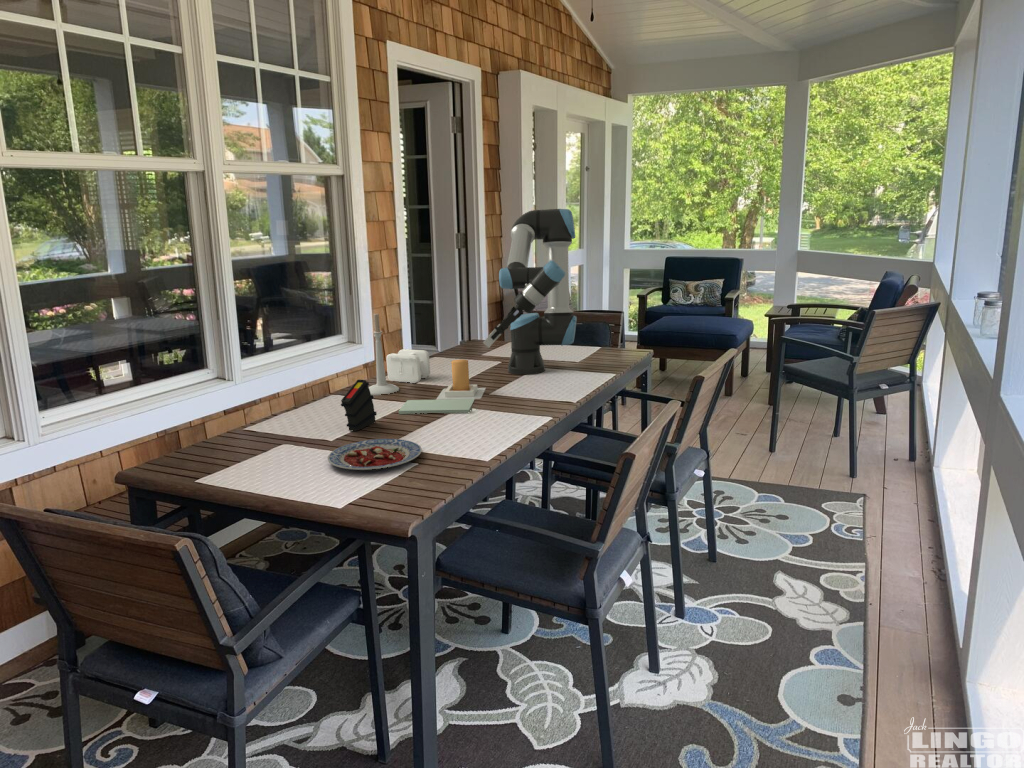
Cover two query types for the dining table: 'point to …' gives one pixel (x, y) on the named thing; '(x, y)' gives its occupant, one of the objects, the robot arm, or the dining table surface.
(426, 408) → the sage board
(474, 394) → the base
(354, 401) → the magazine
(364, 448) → the ceramic plate
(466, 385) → the orange plug
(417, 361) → the cable organizer
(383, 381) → the candlestick
